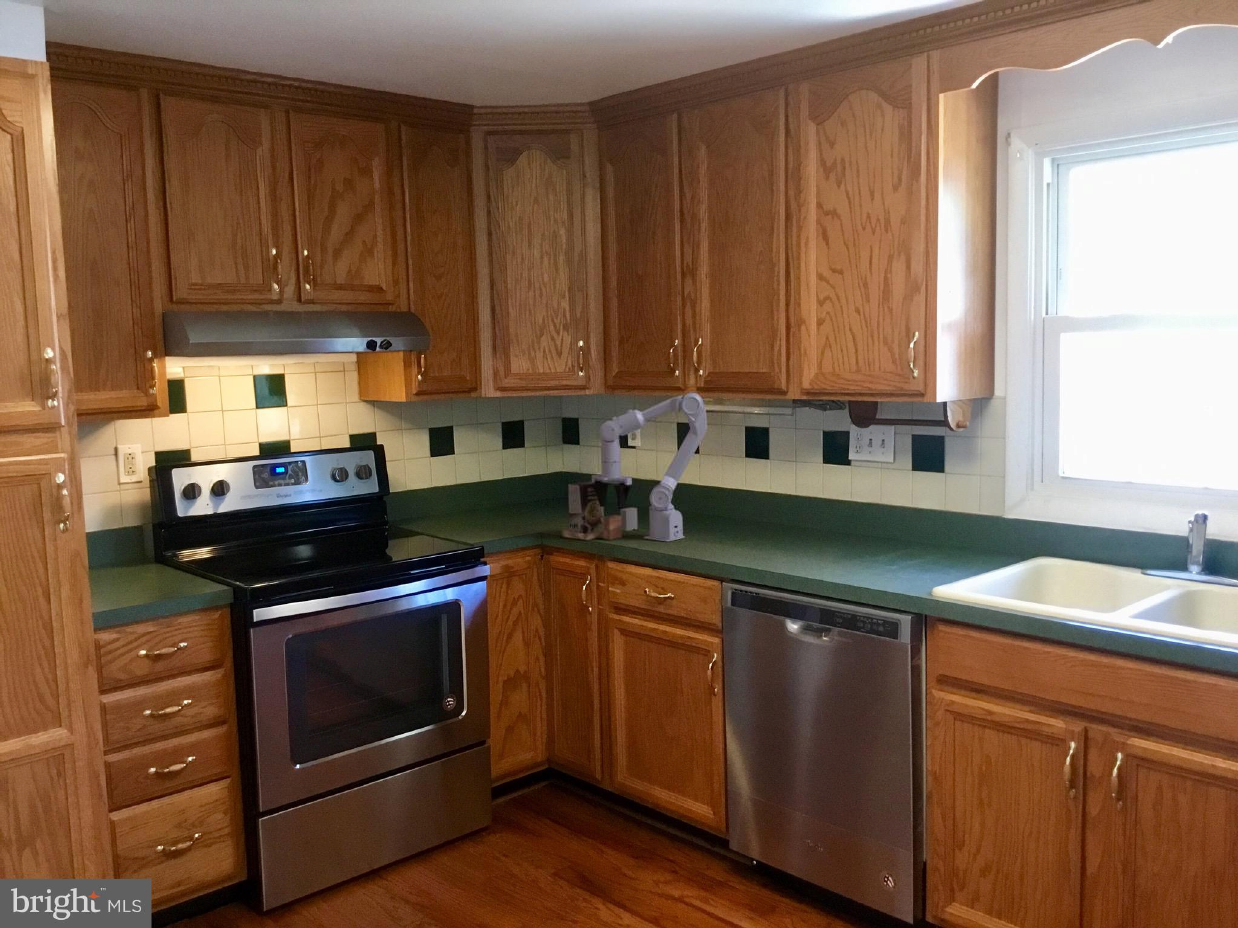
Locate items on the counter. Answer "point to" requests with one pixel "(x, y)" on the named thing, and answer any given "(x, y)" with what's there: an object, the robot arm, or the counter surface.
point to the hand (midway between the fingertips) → (612, 507)
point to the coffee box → (584, 509)
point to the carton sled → (610, 531)
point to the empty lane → (628, 519)
